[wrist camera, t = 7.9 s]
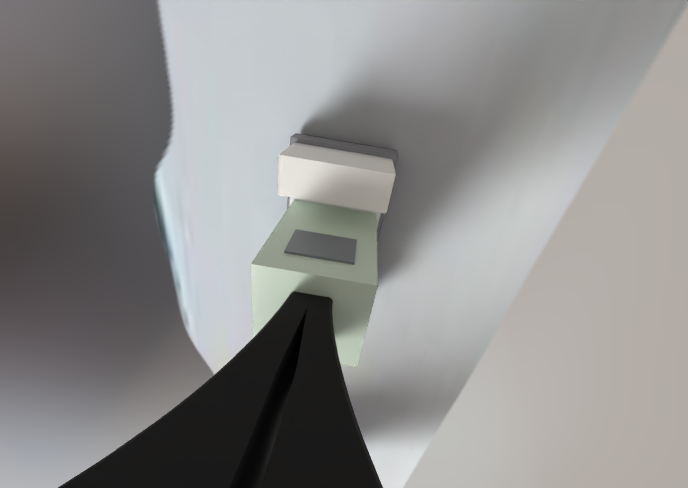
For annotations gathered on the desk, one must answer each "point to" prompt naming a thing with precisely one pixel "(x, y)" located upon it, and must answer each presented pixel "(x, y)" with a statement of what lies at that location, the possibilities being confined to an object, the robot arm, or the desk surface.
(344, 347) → the sage module
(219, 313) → the desk surface
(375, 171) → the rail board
